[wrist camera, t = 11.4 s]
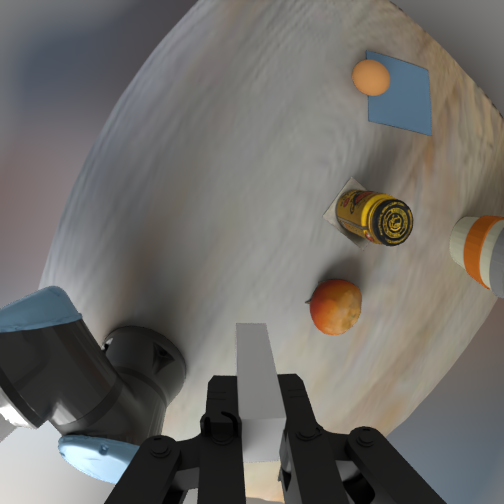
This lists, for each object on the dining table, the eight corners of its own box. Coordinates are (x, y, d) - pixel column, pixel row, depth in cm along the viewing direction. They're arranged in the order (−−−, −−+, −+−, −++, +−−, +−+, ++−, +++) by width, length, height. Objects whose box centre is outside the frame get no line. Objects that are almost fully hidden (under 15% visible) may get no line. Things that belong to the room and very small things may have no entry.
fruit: (307, 265, 40) (350, 292, 34) (338, 270, 45) (377, 292, 39) (286, 315, 42) (324, 346, 36) (319, 314, 47) (354, 339, 41)
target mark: (368, 120, 37) (369, 120, 37) (365, 50, 34) (366, 50, 34) (430, 135, 38) (431, 135, 37) (427, 70, 35) (427, 70, 34)
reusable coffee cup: (489, 249, 44) (541, 272, 29) (451, 285, 45) (503, 319, 30) (475, 194, 41) (535, 207, 26) (434, 229, 42) (496, 252, 27)
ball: (372, 102, 37) (343, 92, 35) (372, 71, 35) (344, 59, 33) (398, 98, 32) (369, 85, 30) (397, 64, 30) (369, 50, 28)
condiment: (351, 176, 39) (393, 179, 27) (389, 212, 41) (437, 226, 29) (321, 216, 40) (355, 233, 29) (362, 250, 42) (403, 276, 30)
